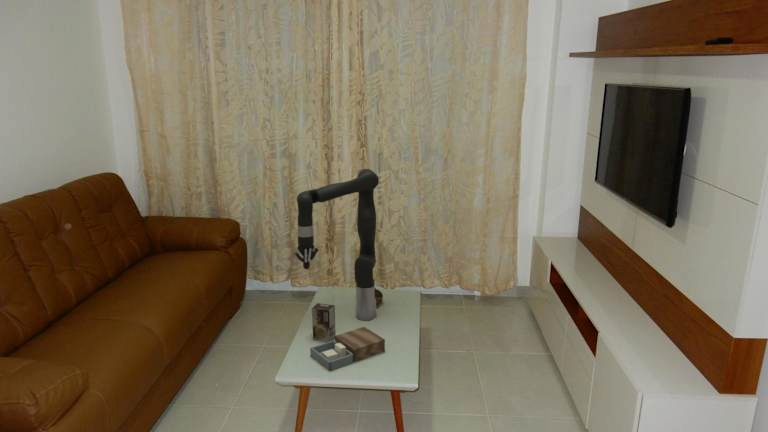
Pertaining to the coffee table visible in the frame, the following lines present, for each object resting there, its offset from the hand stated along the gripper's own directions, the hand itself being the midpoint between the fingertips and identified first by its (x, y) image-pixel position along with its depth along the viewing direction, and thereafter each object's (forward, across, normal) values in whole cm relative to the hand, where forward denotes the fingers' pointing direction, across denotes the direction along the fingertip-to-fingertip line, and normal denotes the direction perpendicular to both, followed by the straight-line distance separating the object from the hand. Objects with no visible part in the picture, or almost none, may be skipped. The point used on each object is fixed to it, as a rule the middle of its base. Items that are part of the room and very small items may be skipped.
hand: (306, 268), depth 272 cm
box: (+28, +10, +38) cm, 49 cm away
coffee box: (+28, +3, +19) cm, 35 cm away
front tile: (+25, +11, +38) cm, 47 cm away
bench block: (+28, -4, +38) cm, 48 cm away
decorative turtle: (+28, -41, 0) cm, 50 cm away
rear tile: (+25, +6, +39) cm, 47 cm away
